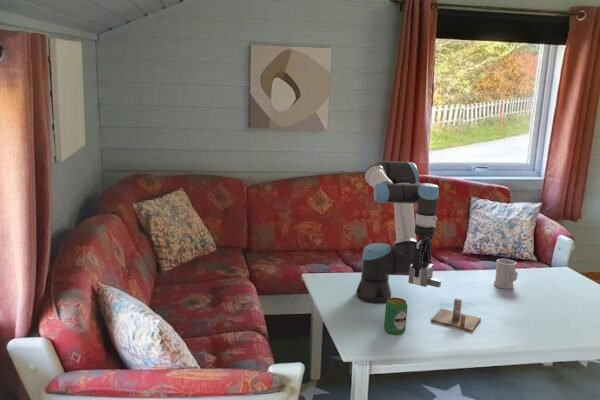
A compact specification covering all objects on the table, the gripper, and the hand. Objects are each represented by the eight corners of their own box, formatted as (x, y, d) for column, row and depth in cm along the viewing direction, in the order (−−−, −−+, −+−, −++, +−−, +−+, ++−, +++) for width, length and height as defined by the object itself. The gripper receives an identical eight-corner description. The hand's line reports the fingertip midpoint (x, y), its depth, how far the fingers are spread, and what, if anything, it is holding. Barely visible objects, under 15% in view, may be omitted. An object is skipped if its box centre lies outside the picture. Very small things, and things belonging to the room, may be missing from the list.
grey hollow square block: (408, 282, 212) (409, 265, 211) (414, 277, 218) (416, 261, 217) (436, 289, 207) (438, 272, 205) (442, 284, 213) (444, 266, 211)
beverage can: (391, 336, 202) (393, 306, 200) (379, 327, 209) (382, 298, 207) (409, 333, 205) (412, 303, 203) (397, 324, 212) (399, 295, 210)
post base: (430, 321, 216) (433, 300, 214) (441, 310, 227) (443, 290, 225) (471, 332, 208) (474, 310, 206) (480, 320, 219) (482, 299, 217)
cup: (519, 286, 259) (522, 261, 256) (514, 291, 252) (518, 267, 249) (496, 281, 264) (499, 257, 262) (491, 286, 257) (494, 262, 254)
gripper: (426, 232, 198) (420, 291, 203) (443, 221, 215) (437, 276, 220) (406, 228, 202) (401, 287, 207) (424, 217, 219) (419, 272, 224)
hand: (420, 281), depth 214 cm, fingers closed on grey hollow square block, 7 cm apart
